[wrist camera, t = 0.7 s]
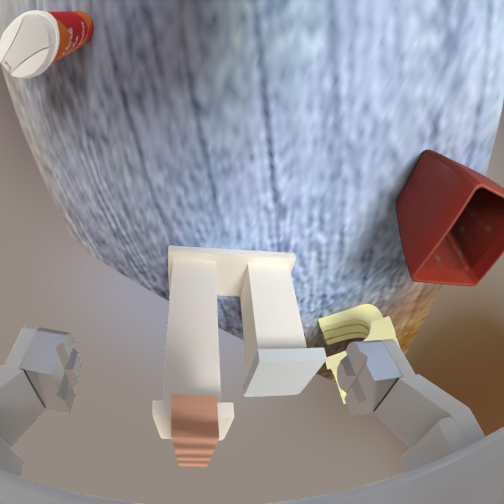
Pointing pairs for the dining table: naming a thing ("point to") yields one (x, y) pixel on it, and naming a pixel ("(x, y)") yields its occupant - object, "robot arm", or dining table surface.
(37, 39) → the paper cup
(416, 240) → the plant pot
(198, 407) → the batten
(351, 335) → the slatted curved stool
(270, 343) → the stand
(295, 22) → the dining table surface
